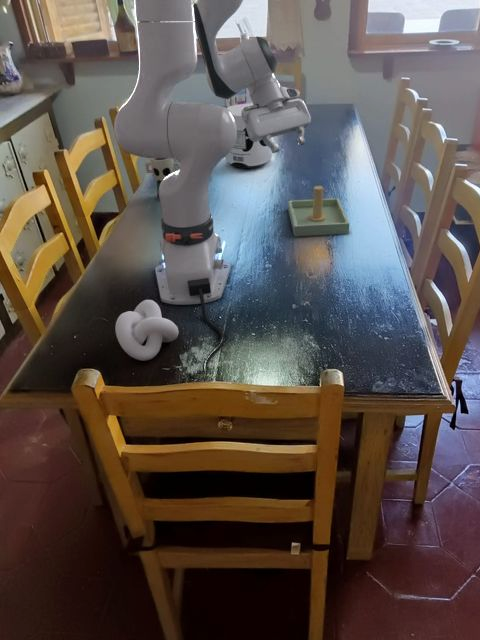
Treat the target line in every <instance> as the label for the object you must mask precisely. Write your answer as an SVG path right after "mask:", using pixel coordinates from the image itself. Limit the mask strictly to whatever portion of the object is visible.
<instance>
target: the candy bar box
mask: <svg viewBox="0 0 480 640" xmlns="http://www.w3.org/2000/svg"><path fill="white" fill-rule="evenodd" d="M225 100H226V101H225V103H226V108H228V107H230V106H233V105H239V104H246V88H245V89H243V90H241V91H239V92H238V93H237V94H235V95H234V96H232V97H231V98H229V99H225Z"/></svg>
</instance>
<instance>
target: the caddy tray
mask: <svg viewBox="0 0 480 640" xmlns="http://www.w3.org/2000/svg"><path fill="white" fill-rule="evenodd" d="M312 198H313V199H296V200H295V199H294V200H288V202H287V211H288V215H289V219H290V224H291V228H292V232H293V236H294V237H309V236H327V235H329V236H330V235H345V234H346V235H347V234H349V233H350V221H349V219H348V216H347V214H346V212H345V209H344V207H343V205H342V203H341V202H342V201H341V200H340V198H339V197H333V198H331V197H330V198H324V186H323V185H315V186H314V187H313V197H312Z"/></svg>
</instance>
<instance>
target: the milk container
mask: <svg viewBox="0 0 480 640" xmlns="http://www.w3.org/2000/svg"><path fill="white" fill-rule="evenodd" d="M252 105H253V104H239V105H233V106H230V107H228V108H227V107H226V108H227V109H228V110H229V111H230V113H231V114H232V116H233V118H234V120H235V123H236V128H237V137H236V141H235V144H234V147H233V148H232V150H231V151H230V153H229V154H228V155H227V156H226V157H224V158H225V161H226V162H227V163H228V164H229V165H231V166H233V167H235V168H241V169H253V168H258V167H262V166H264V165H267V164H268V163H269V162H271V160H272V158H273V154H274V153H272V151H271V149H270V148H269V147H268V146H267V145H266V144H265V143H264V141H263V140H260V141H256V142H253V141H252V140H250V138H249V136H248V133H247V130H246V126H245V122H244V120H243V118H242V116H241V112H242V110H243V108H244V107H249V106H252ZM270 140H271V141H272V138H271V139H270Z"/></svg>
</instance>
